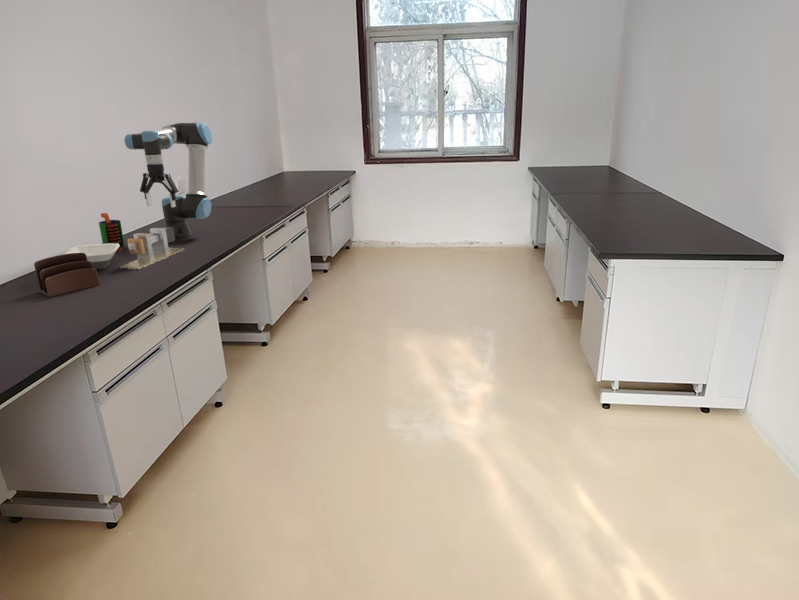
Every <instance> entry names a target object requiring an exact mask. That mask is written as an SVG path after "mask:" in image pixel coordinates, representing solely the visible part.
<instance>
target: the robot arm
mask: <svg viewBox="0 0 799 600" xmlns="http://www.w3.org/2000/svg"><path fill="white" fill-rule="evenodd" d="M212 140H213V135H212V132H211V130H210V127H209V125H207V124H206V123H205V122H176V123H172V124H169V125H166V126H163V127H161V129H155V130H143V131H141V132H140V133H129V134H126V135H125V136H124V145H125V147H126V148H127V149H129V150H143V151H144V157H145V161H146V162H145V163H146V168H147V170H146V171H147V172H144V173H142V182H141V185H140V188H139V192H140V193H143V194H144V200H146V205H147V207H151V206H153V202H152V195H151V192H150V190H151V189H152V187H153V185H154V184H155V183H157V184H161V185H163V186H164V188H165V189H166V190H167V191H168V192H169V194H168V195H169V196H167V197H163V198H162V199H161V207H162V212H163V214H162V215H163V219H164V227H173V230H174V236H175V240H176V239H184V237H185V238H188V236H189V237H191V236H192V235H191V234H192V230H191V229H190V227H189V224H188V222H187V219H192V220H193V219H197V220H201V219H202V220H203V219H206V218H208V217H209V216H210V214H211V212H212V201H211V200H210V198H208V195H207V193H205V186H206V185H205V184H206V181H205V177H206V176H205V168H206V166H205V165H206V163H205V162H206V161H205V160H206V157H205V156H206V150H207V149H208V146H209V145H210V144H212ZM174 144H179V145H185V147H186V148H187V149H188V191H187V193H185V197H184V196H183V195H182V194H179V195H178V194H177V193H179V188H178V187H177V186H176V184H175V182H174V181H173V179H172V176H171V174H170V172H169V173H168V172H167V173H165V168H164V161H163V159H164V158H163V155H162V151H163V150H169V149H171V148H172V147H173V145H174ZM176 194H177V195H176ZM190 235H191V236H190Z"/></svg>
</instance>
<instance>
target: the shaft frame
mask: <svg viewBox="0 0 799 600" xmlns="http://www.w3.org/2000/svg"><path fill="white" fill-rule="evenodd" d="M153 234H160V240H159V241H157V242H154V243H151V237H150V235H153ZM133 238H134V239H143V240H144V245H145V246H144V248H145V254H136V257H137V259H135V260H133V261H130V262H128V263H126V264H123V265H121V266H120V269H122V268H128V269H127V270H136V269H139V270H141V268H142V269H143V267H144V268H146V267H149V266H151V265H153V264H156V263H158V262H160V261H162V259H163V260H165V259H167V258H169V256H170V257H172V256H174V255H176V253H177V254H178V252H179V253H181V252H183V250H184V251H185V248H184V247H170V246H169V243H168V241H167V235H166V229H165V228H162V227H151V228H149V233H143V232H139V233H138V232H137V233H134V234H133ZM135 250H140V249H139V248H138V249H135ZM180 251H181V252H180ZM173 254H174V255H173ZM171 255H172V256H171ZM157 261H158V262H157ZM155 262H156V263H155ZM150 264H151V265H150ZM148 265H149V266H148Z"/></svg>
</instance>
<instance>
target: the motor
mask: <svg viewBox="0 0 799 600" xmlns="http://www.w3.org/2000/svg"><path fill="white" fill-rule="evenodd" d="M100 216H101V218H103V219H104V220H102V221H99V222H98V226H99V231H100V237H101V242H102V243H101V244H117V243H118V244H119V245H120V246H119V248H118V249H117V251H116V252H117V253H121V252H123V251H124V250H126V246H125V240H124V234H123V233H124V232H123V228H122V223H121V220H119V219H110V216H109V214H108V213H107V212H103V213H100ZM122 250H123V251H122ZM120 251H121V252H120Z"/></svg>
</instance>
